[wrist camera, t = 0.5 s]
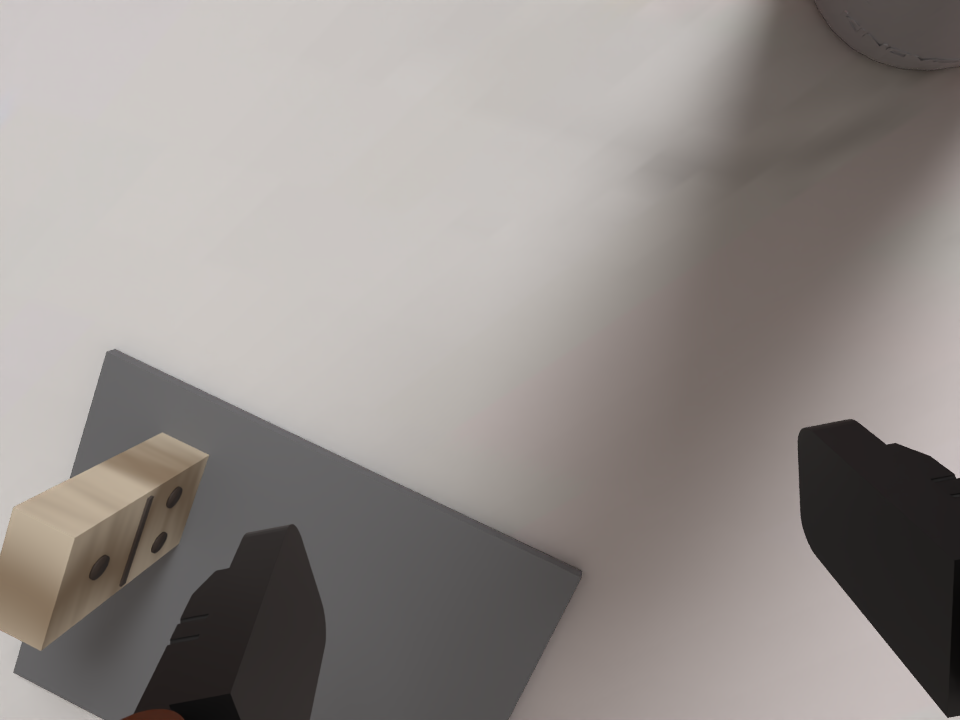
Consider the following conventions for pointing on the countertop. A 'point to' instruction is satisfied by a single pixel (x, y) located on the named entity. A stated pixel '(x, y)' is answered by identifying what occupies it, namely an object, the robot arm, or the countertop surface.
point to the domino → (94, 536)
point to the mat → (334, 562)
